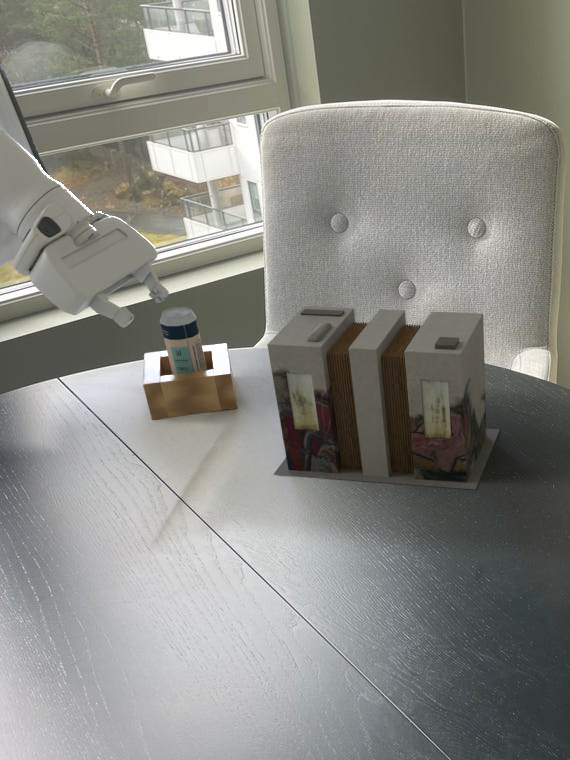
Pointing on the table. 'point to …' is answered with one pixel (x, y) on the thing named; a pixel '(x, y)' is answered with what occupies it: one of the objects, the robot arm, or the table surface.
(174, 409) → the holder
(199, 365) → the supplement bottle
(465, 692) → the table surface
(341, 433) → the bookend
